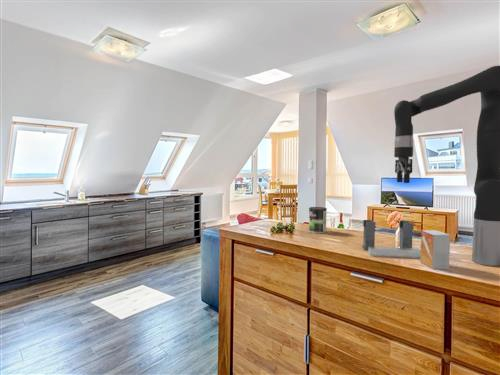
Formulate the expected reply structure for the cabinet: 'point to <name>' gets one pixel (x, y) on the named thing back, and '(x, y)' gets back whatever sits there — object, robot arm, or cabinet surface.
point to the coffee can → (317, 219)
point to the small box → (435, 249)
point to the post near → (406, 234)
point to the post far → (368, 234)
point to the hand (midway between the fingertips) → (402, 182)
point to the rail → (394, 252)
